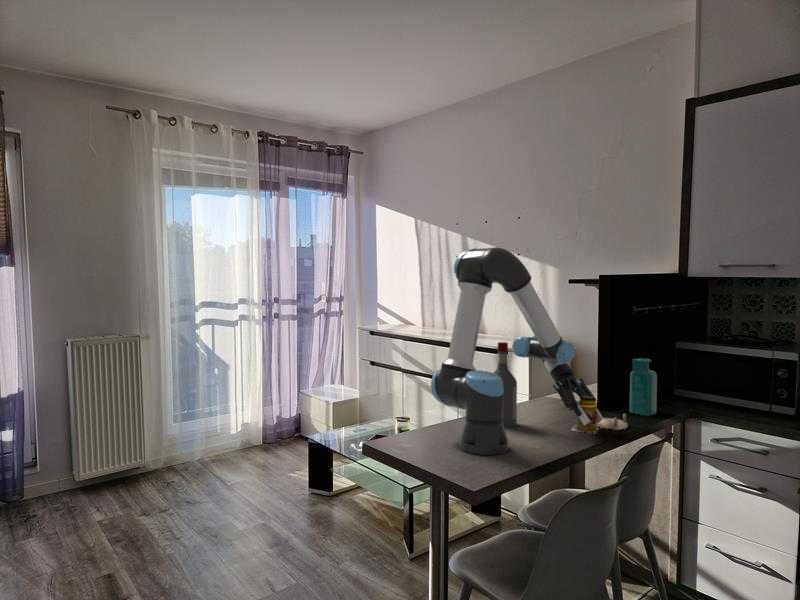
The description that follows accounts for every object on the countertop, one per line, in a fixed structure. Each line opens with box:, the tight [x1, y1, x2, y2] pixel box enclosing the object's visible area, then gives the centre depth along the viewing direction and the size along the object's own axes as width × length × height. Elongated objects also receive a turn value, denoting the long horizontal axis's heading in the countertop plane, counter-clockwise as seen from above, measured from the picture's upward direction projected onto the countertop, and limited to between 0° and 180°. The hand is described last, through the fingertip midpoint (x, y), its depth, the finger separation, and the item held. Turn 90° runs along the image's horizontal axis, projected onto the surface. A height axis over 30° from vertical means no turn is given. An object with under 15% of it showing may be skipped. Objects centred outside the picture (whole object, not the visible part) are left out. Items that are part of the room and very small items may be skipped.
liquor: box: [493, 341, 518, 428], centre depth 193 cm, size 9×9×30 cm
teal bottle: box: [629, 358, 658, 417], centre depth 210 cm, size 10×8×22 cm
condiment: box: [570, 395, 600, 435], centre depth 186 cm, size 7×8×12 cm
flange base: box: [596, 413, 629, 431], centre depth 192 cm, size 12×12×4 cm
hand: (593, 421), depth 183 cm, fingers closed on condiment, 6 cm apart
